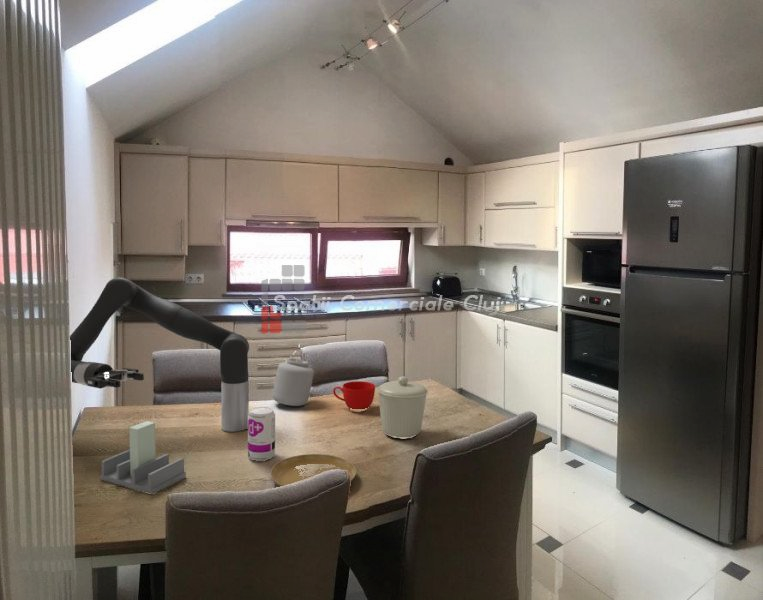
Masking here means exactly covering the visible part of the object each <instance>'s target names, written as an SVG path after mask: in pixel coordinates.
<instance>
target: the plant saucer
mask: <svg viewBox="0 0 763 600" xmlns="http://www.w3.org/2000/svg"><path fill="white" fill-rule="evenodd" d="M307 464H329V465H331V464H332V465H335V466H336V467H340V469H345V470H348V471H349V472H350V474H351V482H353V480H354V479H355V476H356V474H357V469H356V466H355V465H354V464H353V463H352V462H350V461H349V460H347V459H345V458H342V457H339V456H336V455H330V454H321V453H320V454H319V453H308V454H299V455H294V456H289V457H287V458H284V459H281V460H280V461H277V462H276V463H275V464H274V465H273V467H271V469H270V477H271V479H272V481H273V482H274V484H275V485H276V486H277V487H278V488H280V486H284V485H287V484H291V483H294V482H297V481H300V480H303V479H306V478H308V477H311V476H313V475H311V476H308V477H307V476H304V478H303V476H299V475H300V474H299V473H300V472H301V471H302V472H303V471H304V470H302V469H301V471H299V470H300V469H299V470H298V469H296V468H295V467H296V466H300V465H307ZM294 469H295V470H294ZM304 469H306V468H304ZM330 469H335V468H329V469H325V468H323V469H321V470H320V468H319V469H317V470H316V472H315V474H317V473H320V472H323V471H325V470H330ZM306 470H308V469H306ZM306 470H305V471H306ZM298 471H299V472H298ZM317 471H318V472H317ZM319 471H320V472H319ZM304 473H305V472H304ZM304 473H303V474H304ZM312 474H313V473H312ZM315 474H314V475H315ZM305 475H306V474H305ZM302 478H303V479H302Z"/></svg>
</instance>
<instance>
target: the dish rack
mask: <svg viewBox="0 0 763 600" xmlns="http://www.w3.org/2000/svg"><path fill="white" fill-rule="evenodd" d="M169 456H170V454H169V453H165V454H163V455H161V456H159V457H156V459H154V460H152V461H150V462H148V463H145V464H143V465H141V466H139V467H137V468H135V469H132V477H131V474H130V448H129V449H128V450H125V451H123V452H119V453H117V454H115V455H113V456H110V457H107V458H106V459H104V460H101V474H100V481H103V480H105V481H104V482H107V481H108V483H110V482H111V483H110V484H113V483H114V484H115V485H117V484H118V485H117V486H120V485H121V487H123V486H125V487H124V488H127V487H129V488H128V489H130V488H132V489H131V490H133V489H136V490H135V491H137V490H140V491H144V492H148V493H151V494H153V493H155V492H157V491H159V490H161V489H162V490H164V489H166V488H168V487H170V486H172V485H174V484H175V482H176V483H177V482H179V481H181V480H183V479H185V478H186V471H185V458H184V457H180V458H178V459H177V460H174V461H173V462H170V461H169V460H170V457H169ZM173 483H174V484H173ZM171 484H172V485H171ZM169 485H170V486H169ZM167 486H168V487H167ZM165 487H166V488H165ZM163 488H164V489H163ZM162 490H161V491H162ZM140 491H139V492H140ZM159 492H160V491H159ZM157 493H158V492H157ZM155 494H156V493H155ZM153 495H154V494H153Z"/></svg>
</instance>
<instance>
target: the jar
mask: <svg viewBox="0 0 763 600" xmlns="http://www.w3.org/2000/svg"><path fill="white" fill-rule="evenodd" d="M298 348H300V343H299V344H298ZM301 352H303V351H302V349H301ZM295 353H297V351H296V350H295V351H294V352H293V354H292V355H293V356H294V355H295ZM284 360H286V361H283V362H281V363H279V364H278V366H277V368H276V369H277V370H276V374H275V379H274V385H273V389H272V394H271V395H272V396H271V398H272V399H273V400H274V401H275V402H277V403H279V404H282V405H285V406H291V407H303V406H305V405H307V404H308V401H309V399H310V396H311V395H310V394H311V388H312V385H313V379H314V375H315V372H314V371H315V370H314V369H313V368H312V367H310V366H309V364H310V362H308V361H306V360H303V359H299V358H298V359H296V358H291V357H288V358H286V359H285V358H284ZM314 392H316V391H315V390H314ZM312 394H313V392H312ZM311 397H312V396H311ZM302 405H303V406H302Z"/></svg>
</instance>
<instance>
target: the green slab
mask: <svg viewBox="0 0 763 600" xmlns="http://www.w3.org/2000/svg"><path fill="white" fill-rule="evenodd" d="M128 430H129V433H128V434H129V449H130V474H131V477H132V469H135V468H137V467H139V466H141V465H143V464H145V463H148V462H150V461H152V460H154V459H156V458H157V457H156V423H155V422H153V421H148V420H146V421H143V422H141V423H137V424H136V425H135V424H134V425H133V426H130V427H129V429H128Z"/></svg>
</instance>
